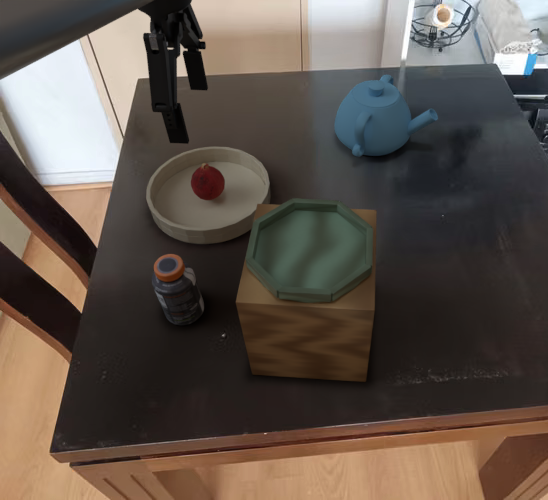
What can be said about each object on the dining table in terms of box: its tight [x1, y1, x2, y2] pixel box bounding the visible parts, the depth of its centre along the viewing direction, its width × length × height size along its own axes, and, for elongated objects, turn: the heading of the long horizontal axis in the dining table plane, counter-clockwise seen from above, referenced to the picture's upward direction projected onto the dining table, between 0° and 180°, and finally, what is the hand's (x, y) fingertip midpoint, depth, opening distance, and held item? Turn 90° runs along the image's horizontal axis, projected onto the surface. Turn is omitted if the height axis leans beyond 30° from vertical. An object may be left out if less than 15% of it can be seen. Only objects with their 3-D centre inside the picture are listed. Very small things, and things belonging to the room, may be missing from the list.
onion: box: [191, 163, 225, 200], centre depth 94 cm, size 6×6×8 cm
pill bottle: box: [151, 253, 205, 326], centre depth 78 cm, size 6×6×11 cm
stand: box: [235, 197, 378, 383], centre depth 73 cm, size 16×16×20 cm
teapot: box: [333, 73, 439, 158], centre depth 104 cm, size 20×20×13 cm
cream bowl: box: [145, 145, 272, 245], centre depth 96 cm, size 21×21×4 cm
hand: (190, 114), depth 83 cm, fingers open, 13 cm apart
